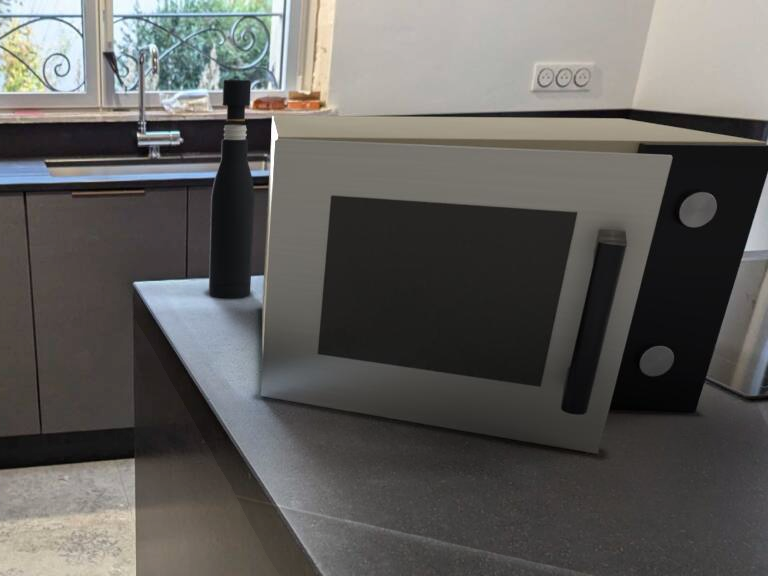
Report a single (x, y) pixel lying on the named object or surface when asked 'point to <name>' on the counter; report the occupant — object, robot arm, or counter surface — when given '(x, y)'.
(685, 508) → the counter surface
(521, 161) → the microwave door
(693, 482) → the counter surface
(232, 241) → the black screw-cap bottle
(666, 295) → the microwave
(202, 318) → the counter surface
